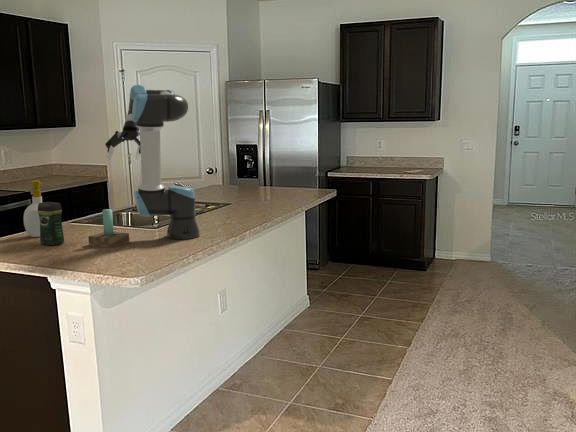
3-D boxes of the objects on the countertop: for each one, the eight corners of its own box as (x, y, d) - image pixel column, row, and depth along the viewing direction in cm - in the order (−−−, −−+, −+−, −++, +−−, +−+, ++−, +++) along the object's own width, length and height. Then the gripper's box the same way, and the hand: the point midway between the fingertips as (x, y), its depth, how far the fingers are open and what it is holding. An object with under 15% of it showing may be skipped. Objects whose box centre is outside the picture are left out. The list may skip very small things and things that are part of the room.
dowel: (115, 240, 248) (114, 209, 245) (109, 242, 244) (107, 210, 242) (108, 240, 249) (106, 209, 247) (102, 241, 246) (100, 210, 243)
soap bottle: (32, 239, 255) (27, 182, 251) (20, 237, 260) (15, 181, 256) (60, 234, 267) (56, 179, 262) (48, 232, 272) (44, 178, 267)
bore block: (129, 242, 250) (128, 233, 249) (110, 247, 239) (110, 238, 239) (108, 239, 255) (107, 231, 254) (88, 245, 244) (88, 236, 243)
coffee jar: (67, 242, 249) (64, 201, 246) (54, 246, 242) (50, 203, 239) (50, 241, 253) (47, 200, 250) (37, 244, 245) (33, 202, 242)
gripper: (158, 130, 281) (150, 163, 269) (110, 130, 282) (99, 163, 270) (155, 119, 275) (146, 152, 262) (105, 120, 276) (94, 152, 264)
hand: (122, 158), depth 266 cm, fingers open, 13 cm apart
